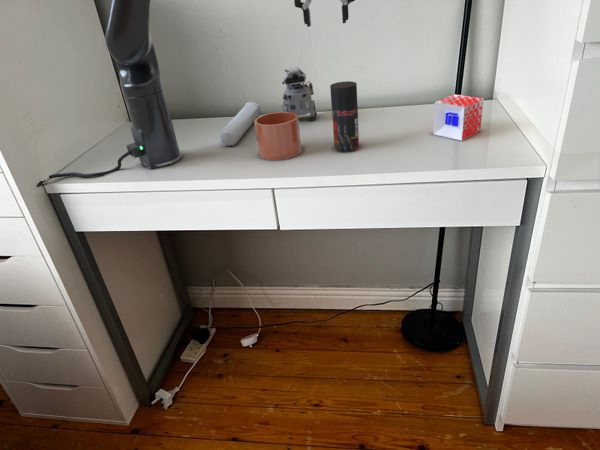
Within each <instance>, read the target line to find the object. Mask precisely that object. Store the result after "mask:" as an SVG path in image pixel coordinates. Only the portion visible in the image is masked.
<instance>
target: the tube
mask: <svg viewBox="0 0 600 450" xmlns="http://www.w3.org/2000/svg"><path fill="white" fill-rule="evenodd" d="M260 116H261V106H260V105H259V104H258V103H256V102H254V101H249V102H246V103H245V104H244V106H243V107H242V108H241V109H240V110H239V111H238V112H237V114H236V115H235V116H234V117H233V118H232V119H231V120H230V121H229V122H228V123H227V124H226V125H225V126H224V127H223V128H222V130H221V131H220V134H219V137H220V141H221V143H222V144H224V145H225V146H227V147H231V146H232V147H234V146H236V145H237V143H238V142H239V141H240V139H241V138H242V137H243V136H244V134H245V133H246V132H247V131H248V129H250V127H251V126H252V124H253V123H254V121H255V119H256V118H258V117H260Z"/></svg>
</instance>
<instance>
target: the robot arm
mask: <svg viewBox="0 0 600 450" xmlns="http://www.w3.org/2000/svg"><path fill="white" fill-rule="evenodd" d="M151 1H152V0H111V4H110V11H109V16H108V20H107V25H106V29H105V30H106V31H105V36H104V42H105V46H106V48H107V51H108V53H109V55H110V56H111V57H112V59H114V60H115V64H116V67H117V71H118V75H119V76H118V77H119V83H120V88H121V92H122V95H123V99H124V101H125V105H126V109H127V112H128V115H129V119H130V122H131V125H132V126H130V132H131V135H132V138H133V142H131V143H129V144H126V149H127V151H126V152H125V153H123V154H122V155H121V156H120V157H118V159H117V165H116V166H115V167H114V168H111V169H110V170H106V171H101V172H93V173H81V172H65V173H64V172H63V173H54V174H53V173H52V174H49V175H50V176H49V175H48V176H49V178H50V179H47V180H44V181H40V180H39V181H40V182H39V181H38V182H39V183H38V182H37V184H36V185H35V187H37V188H38V187H41V186H42V185H43V184H44V182H47V181H48V180H51V179H56V178H65V177H79V178H80V177H81V178H94V177H101V176H105V175H106V176H107V175H108V174H111V173H113V172H116V171H119V170H120V169H121V168H122V161H123V160H124V159H125V158H127V157H129V156H131V157H133V158H135V159H138V158H139V161H140V164H141V165H143V166H145V167H147V168H149V169H151V170H153V169H155V168H160V167H166V166H170V165H173V164H174V163H177V162H179V161H180V160H181V158H182V154H181V152H180V147H179V144H178V140H177V136H176V133H175V132H176V131H175V127H174V124H173V120H172V117H171V113H170V109H169V105H168V100H167V97H166V93H165V89H164V84H163V80H162V74H161V70H160V66H159V60H158V56H157V53H156V48H155V45H154V41H153V37H152V34H151V32H150V12H151V11H150V10H151ZM312 1H313V0H305V1H302V0H294V7H295V8H298V9H301V10H302V13H303V14H302V15H303V23H304V25H306V27H307V28H308V27H311V26H312V22H311V21H312V20H311V9H310V8H309V7H310V5H311V3H312ZM339 1H340V2H341V3H342V5H341V17H342V24H346V23H347V21H348V20H349V17H350V16H349V5H350V4H351V3H353V2H355V1H356V0H339Z"/></svg>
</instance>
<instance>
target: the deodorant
mask: <svg viewBox="0 0 600 450" xmlns="http://www.w3.org/2000/svg"><path fill="white" fill-rule="evenodd" d="M329 88H330V103H331V117H332V118H331V119H332V130H333V131H332V132H333V145H334V150H335V151H336V152H338V153H352V152H355V151H357V150H359V148H360V135H359V133H360V132H359V108H358V85H357V82H356V81H338V82H333V83H331V84H330V86H329Z"/></svg>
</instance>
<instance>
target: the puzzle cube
mask: <svg viewBox="0 0 600 450" xmlns="http://www.w3.org/2000/svg"><path fill="white" fill-rule="evenodd" d="M484 100H485V98H484V97H478V96H477V97H476V96H470V95H465V94H463V95H462V94H456V93H454V94H451V95H449V96H445V97H444V98H441V99H439V100H437V101H434V104H433V105H434V109H433V128H432V129H433V130H432V134H433V135H436V136H439V137H444V138H449V139H454V140H458V141H463V140H465V139H468V138H469V137H471V136H473V135H475V134H478V133H479V132H481V131H482V130H481V129H482V121H483V110H484V102H485V101H484Z"/></svg>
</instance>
